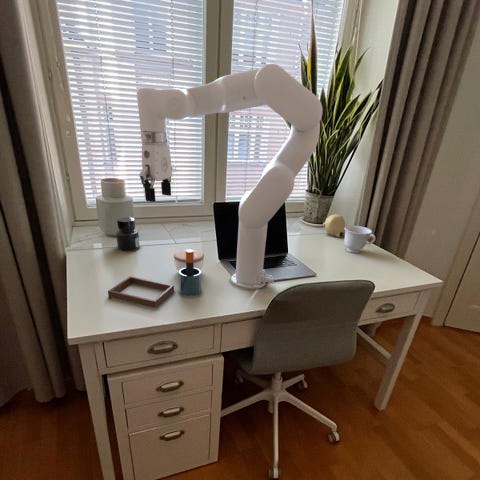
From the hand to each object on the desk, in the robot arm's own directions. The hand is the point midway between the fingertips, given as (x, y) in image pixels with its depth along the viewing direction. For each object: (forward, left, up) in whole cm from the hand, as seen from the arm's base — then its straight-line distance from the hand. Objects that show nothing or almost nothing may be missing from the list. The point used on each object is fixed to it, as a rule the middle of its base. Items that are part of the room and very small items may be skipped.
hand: (158, 198), depth 111 cm
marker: (-14, +8, -27) cm, 31 cm away
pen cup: (-14, +8, -27) cm, 32 cm away
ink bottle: (+26, -18, -27) cm, 42 cm away
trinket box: (-8, -5, -27) cm, 29 cm away
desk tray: (-1, +16, -27) cm, 32 cm away
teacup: (-66, -60, -27) cm, 93 cm away
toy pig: (-54, -80, -27) cm, 100 cm away
